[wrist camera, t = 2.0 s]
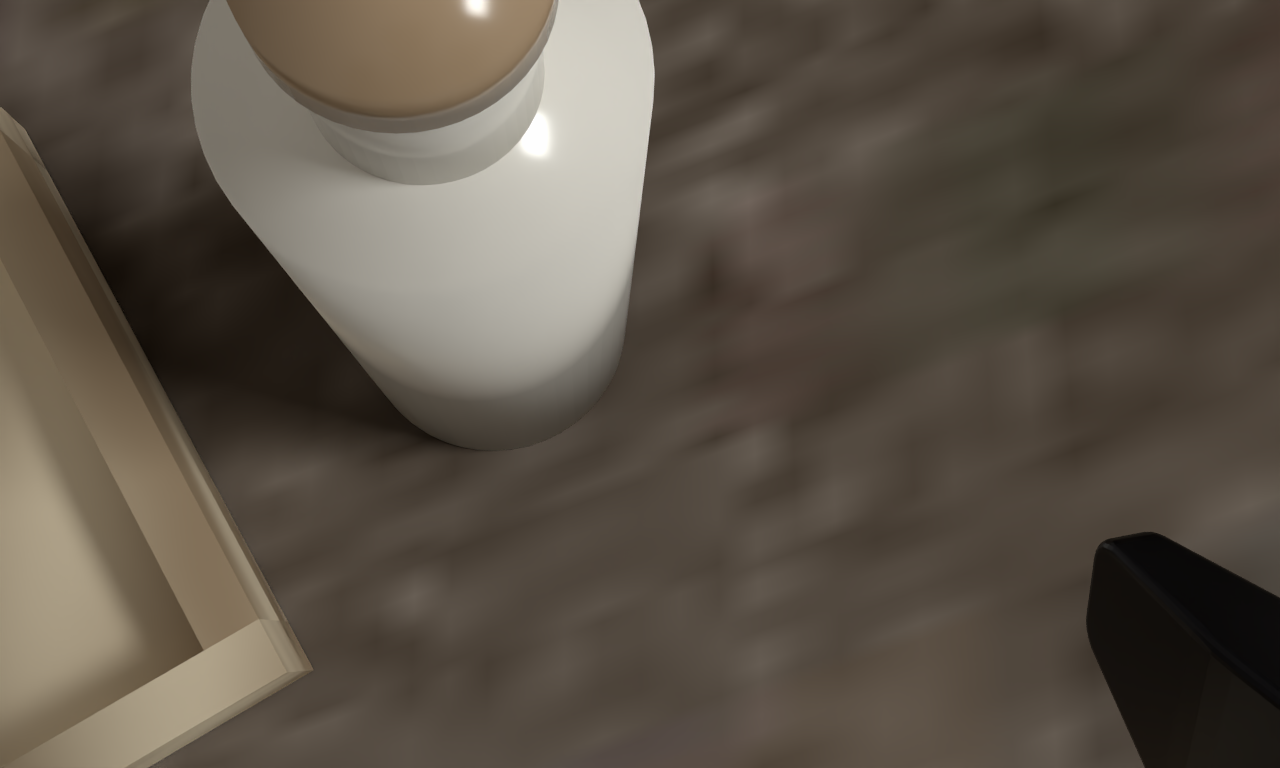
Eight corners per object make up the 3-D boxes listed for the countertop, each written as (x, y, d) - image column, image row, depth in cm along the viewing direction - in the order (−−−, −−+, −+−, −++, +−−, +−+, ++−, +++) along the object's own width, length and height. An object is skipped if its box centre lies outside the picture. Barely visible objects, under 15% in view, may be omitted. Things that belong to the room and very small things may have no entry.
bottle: (444, 500, 23) (264, 314, 10) (318, 277, 24) (3, -155, 11) (673, 367, 24) (774, 40, 11) (543, 155, 24) (495, -382, 12)
